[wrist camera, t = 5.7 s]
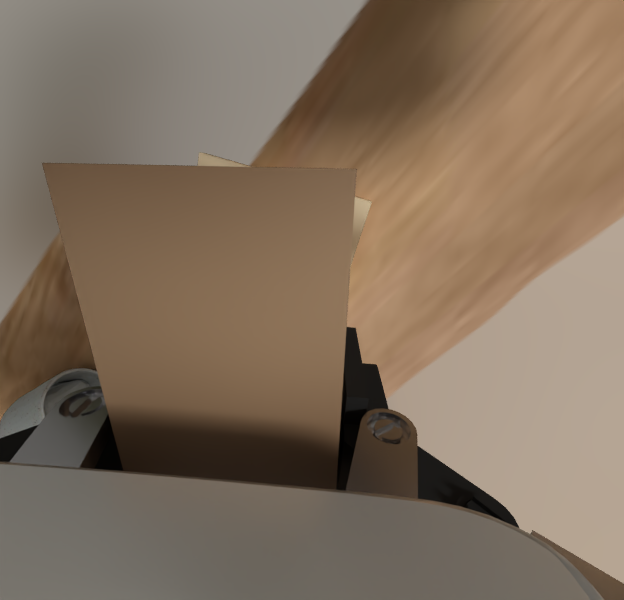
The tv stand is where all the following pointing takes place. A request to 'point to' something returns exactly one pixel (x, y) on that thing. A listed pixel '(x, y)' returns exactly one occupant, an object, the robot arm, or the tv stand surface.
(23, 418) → the ceramic mug
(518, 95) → the tv stand surface
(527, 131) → the tv stand surface
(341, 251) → the brown wooden block
